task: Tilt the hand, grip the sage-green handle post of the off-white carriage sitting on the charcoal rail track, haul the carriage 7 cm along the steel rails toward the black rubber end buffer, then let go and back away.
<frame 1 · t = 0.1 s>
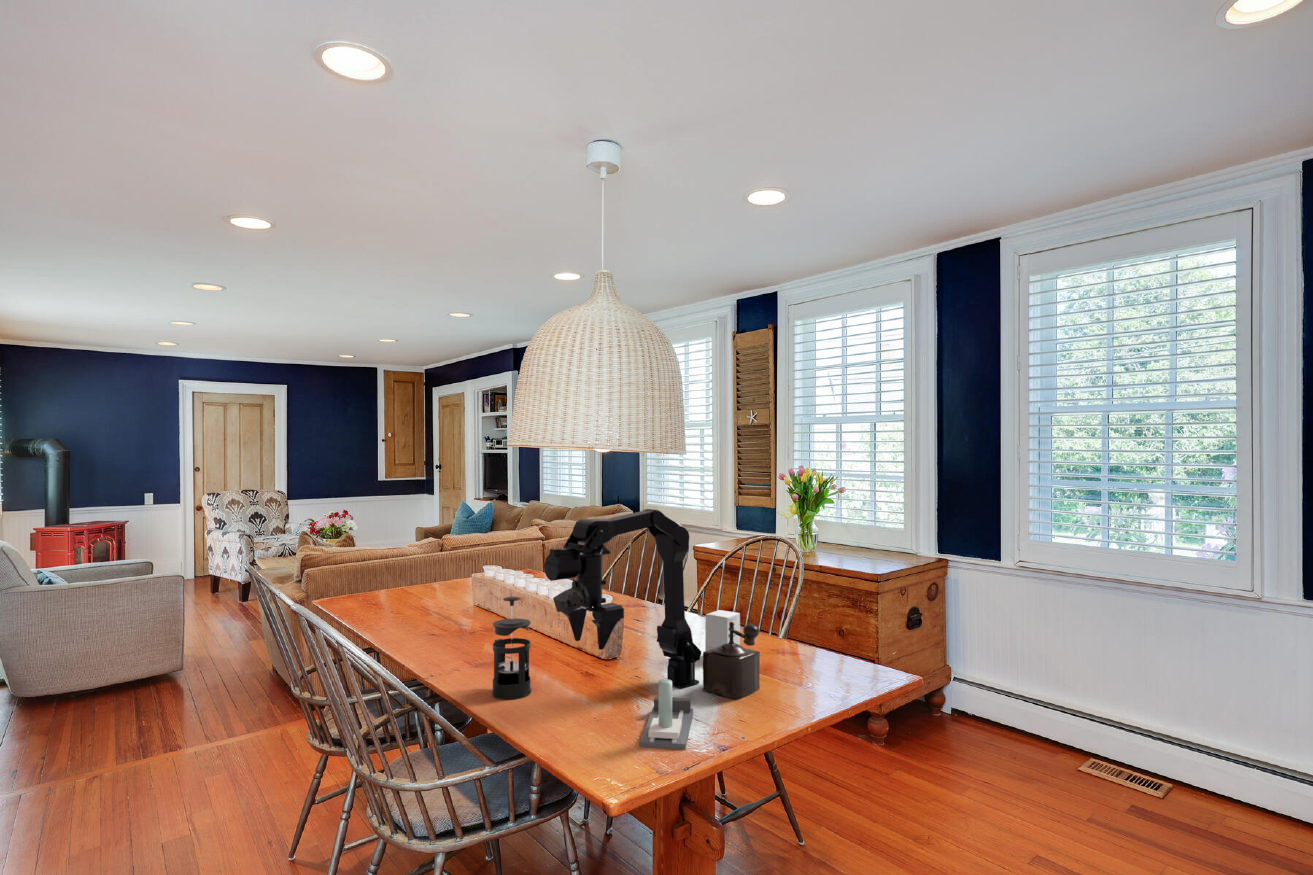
hand: (589, 644, 157), 15 cm above the table, tool pointing down, fingers open, 9 cm apart
carriage: (665, 706, 141), point 6 cm above the table, slide at 0.0 cm
supplement box: (722, 658, 196), on the table
french press: (510, 693, 168), on the table
rail track: (668, 728, 146), on the table
manual coffee grinder: (739, 693, 168), on the table
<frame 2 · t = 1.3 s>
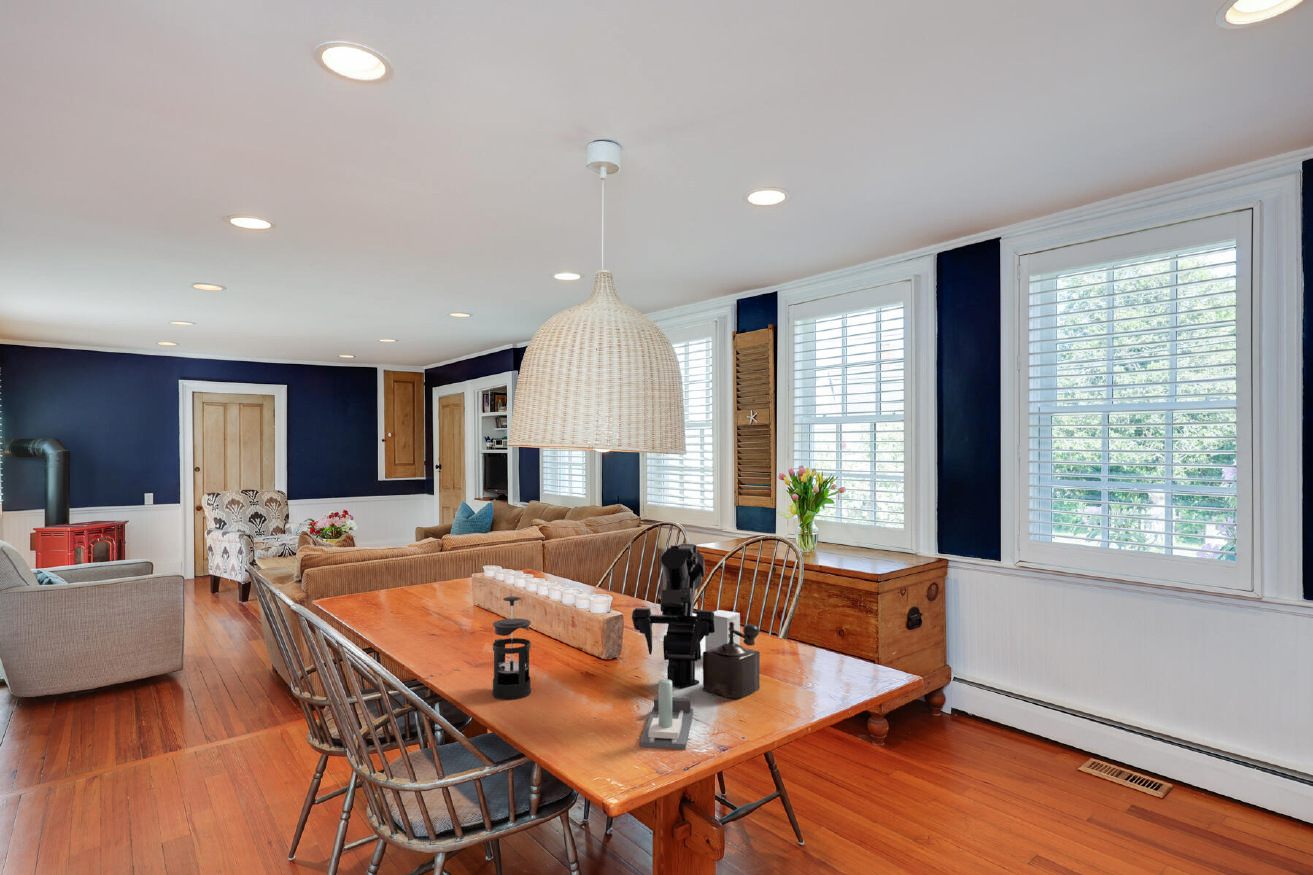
hand: (670, 654, 154), 13 cm above the table, tool tilted 45°, fingers open, 9 cm apart
nothing on the table moved.
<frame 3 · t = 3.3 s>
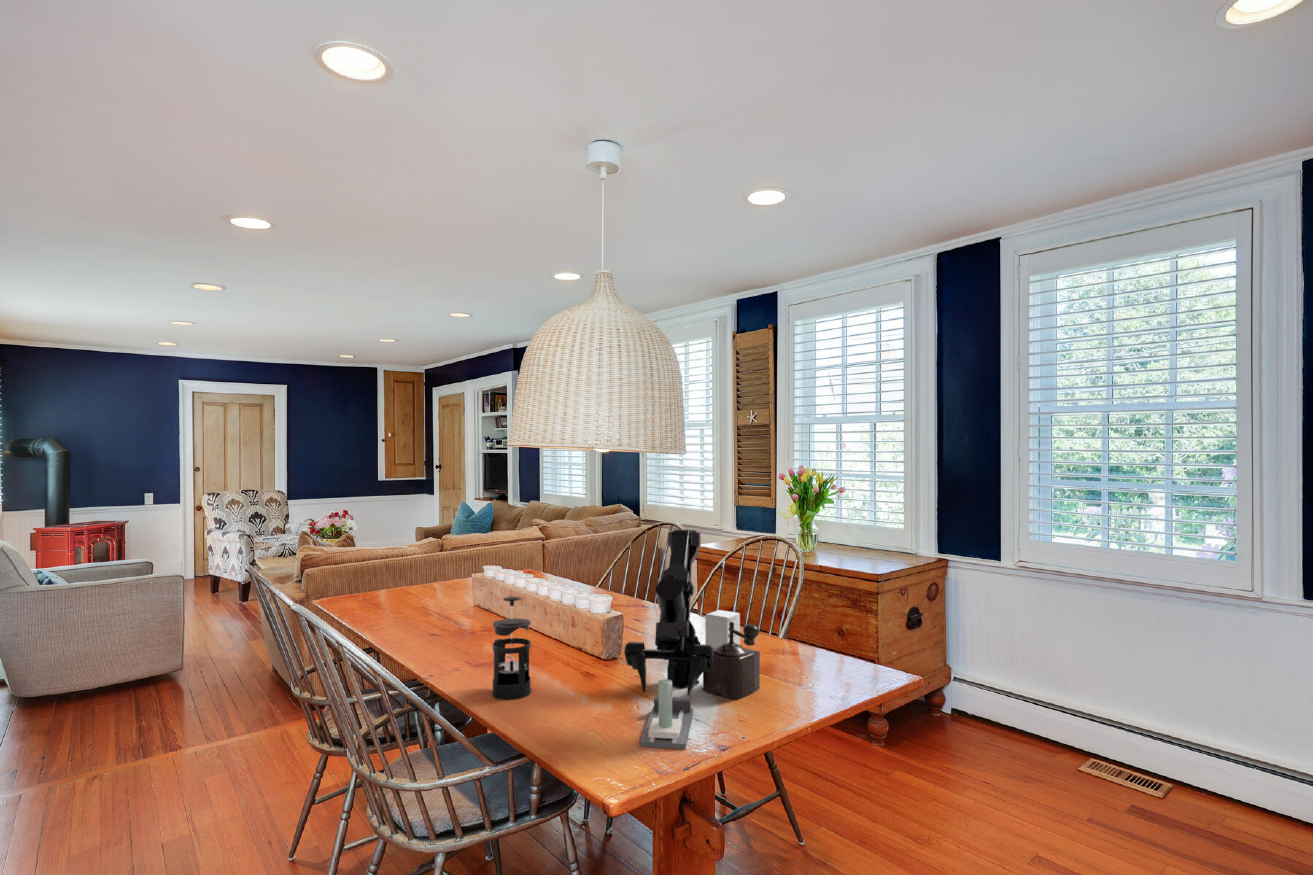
hand: (666, 693, 142), 9 cm above the table, tool tilted 45°, fingers open, 9 cm apart
nothing on the table moved.
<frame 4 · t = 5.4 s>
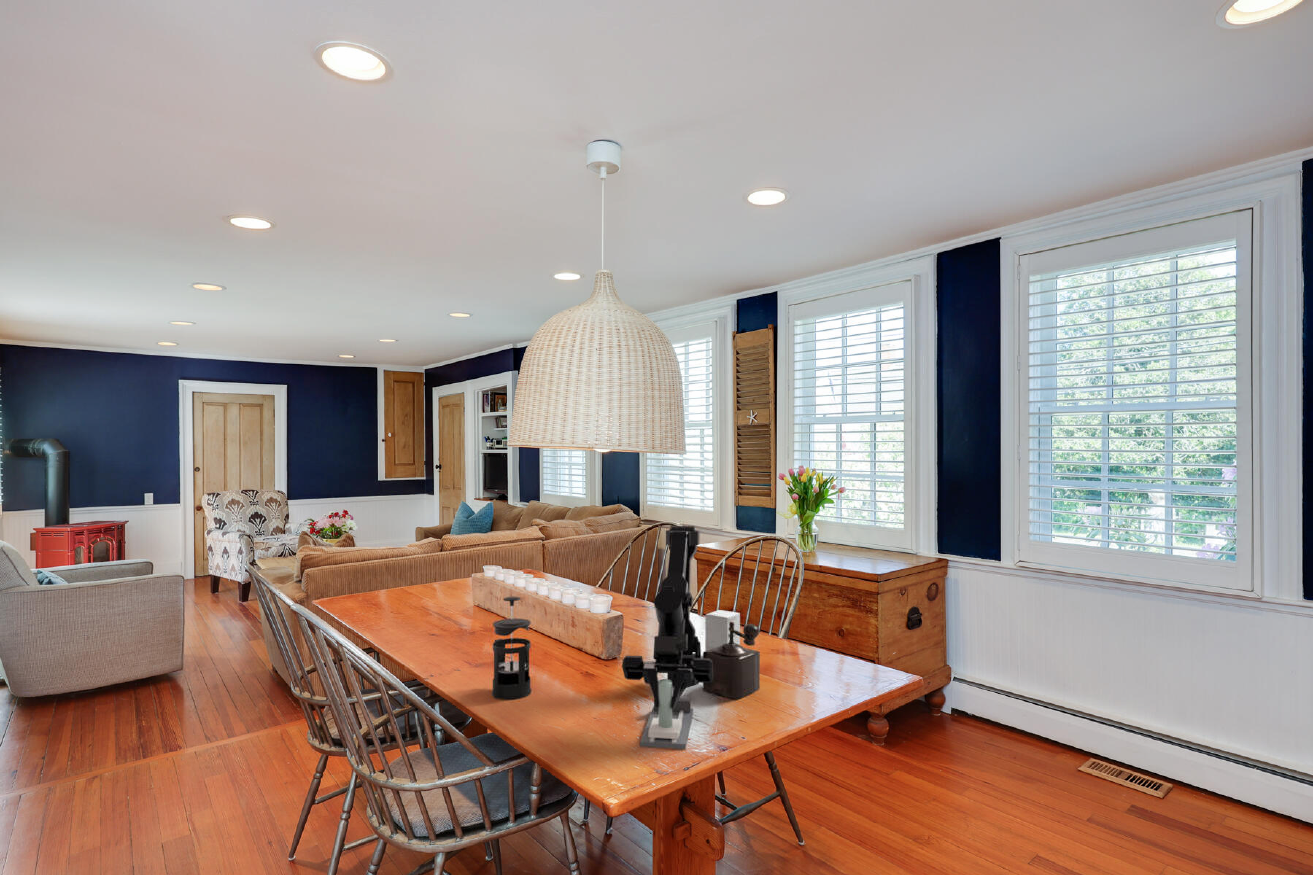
hand: (664, 708, 140), 7 cm above the table, tool tilted 45°, fingers closed on carriage, 3 cm apart
carriage: (665, 706, 141), point 6 cm above the table, slide at 0.0 cm, touching gripper
everything else where it was.
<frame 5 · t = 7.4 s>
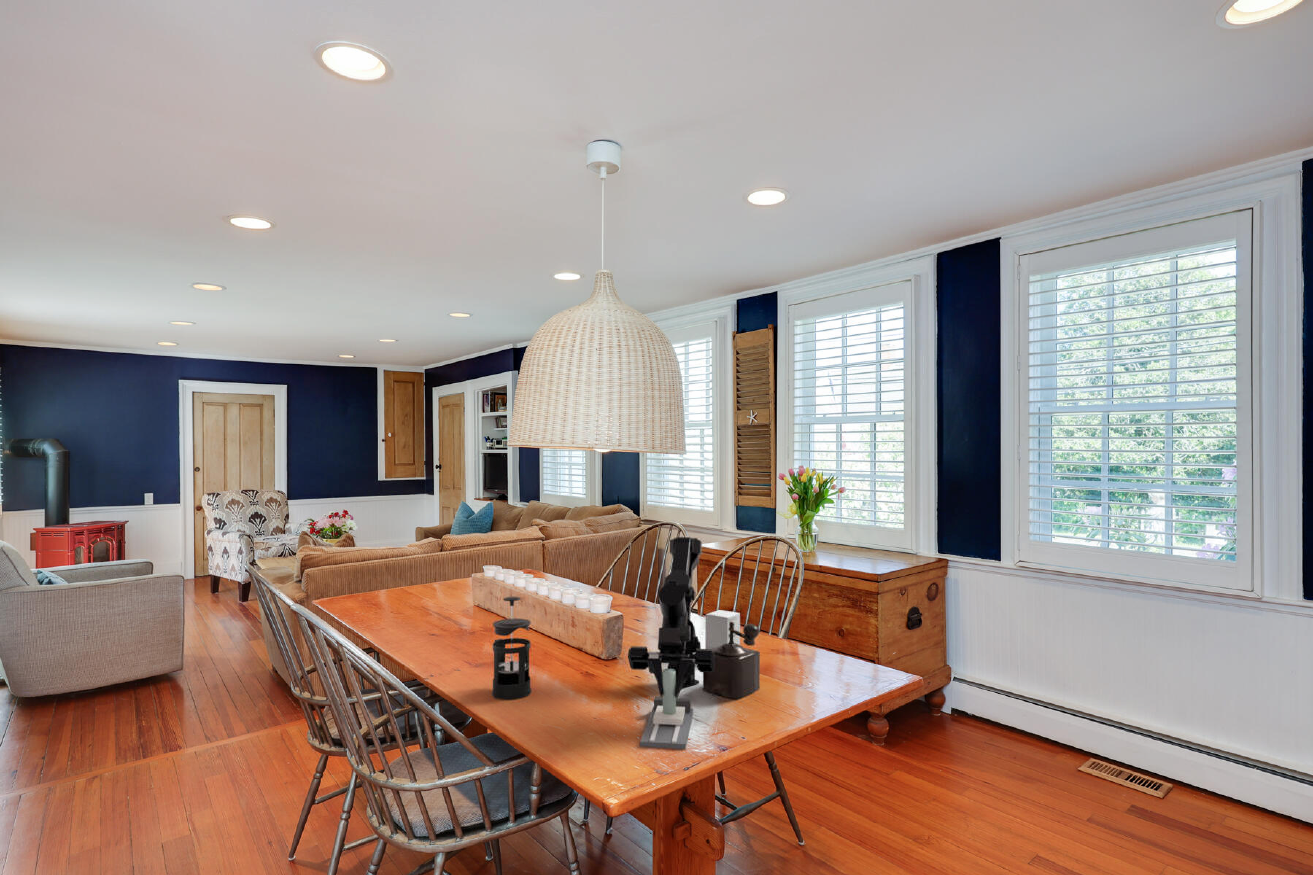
hand: (668, 696, 147), 7 cm above the table, tool tilted 45°, fingers closed on carriage, 3 cm apart
carriage: (669, 694, 148), point 6 cm above the table, slide at 7.0 cm, touching gripper
everything else where it was.
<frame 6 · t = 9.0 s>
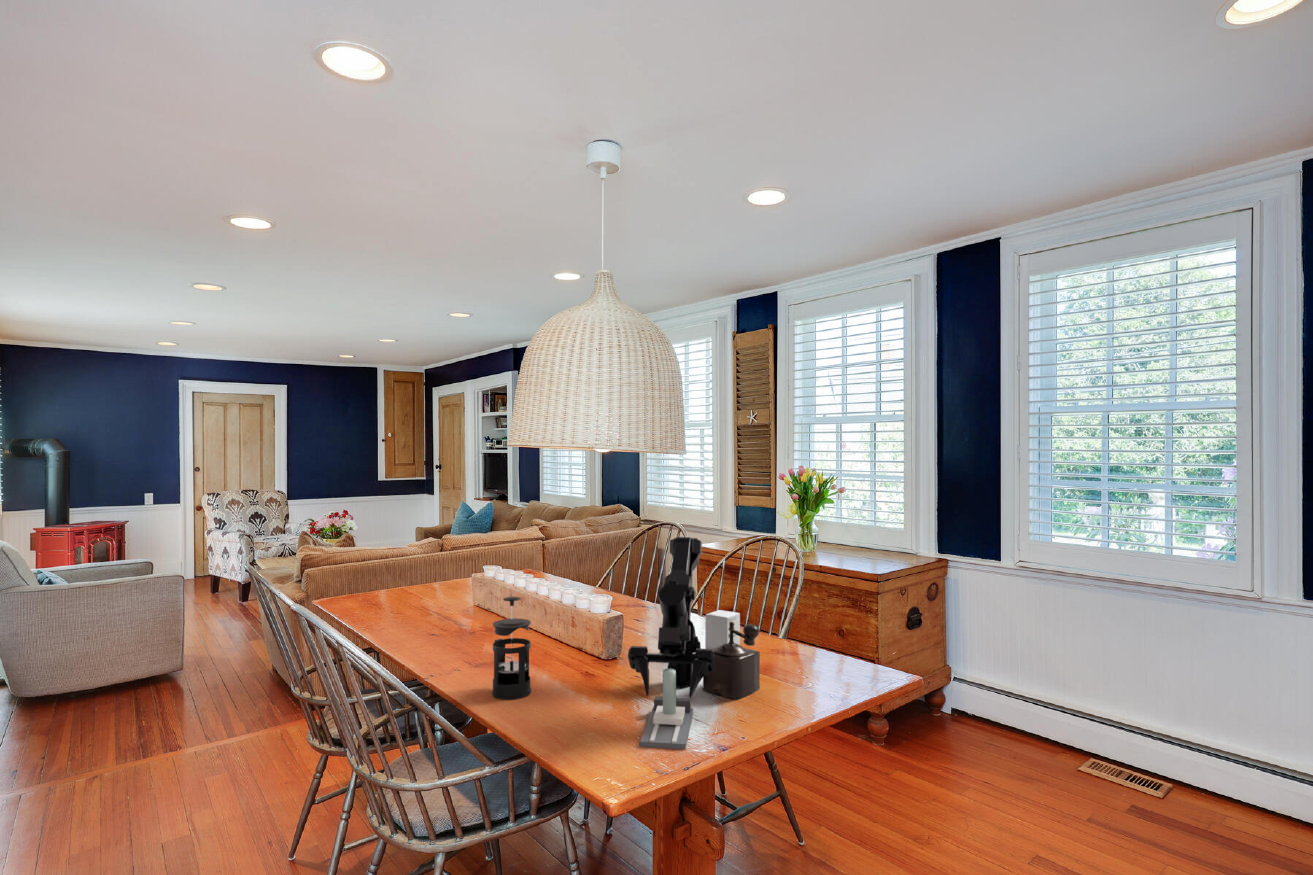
hand: (668, 695, 147), 7 cm above the table, tool tilted 45°, fingers open, 9 cm apart
carriage: (669, 694, 148), point 6 cm above the table, slide at 7.0 cm
everything else where it was.
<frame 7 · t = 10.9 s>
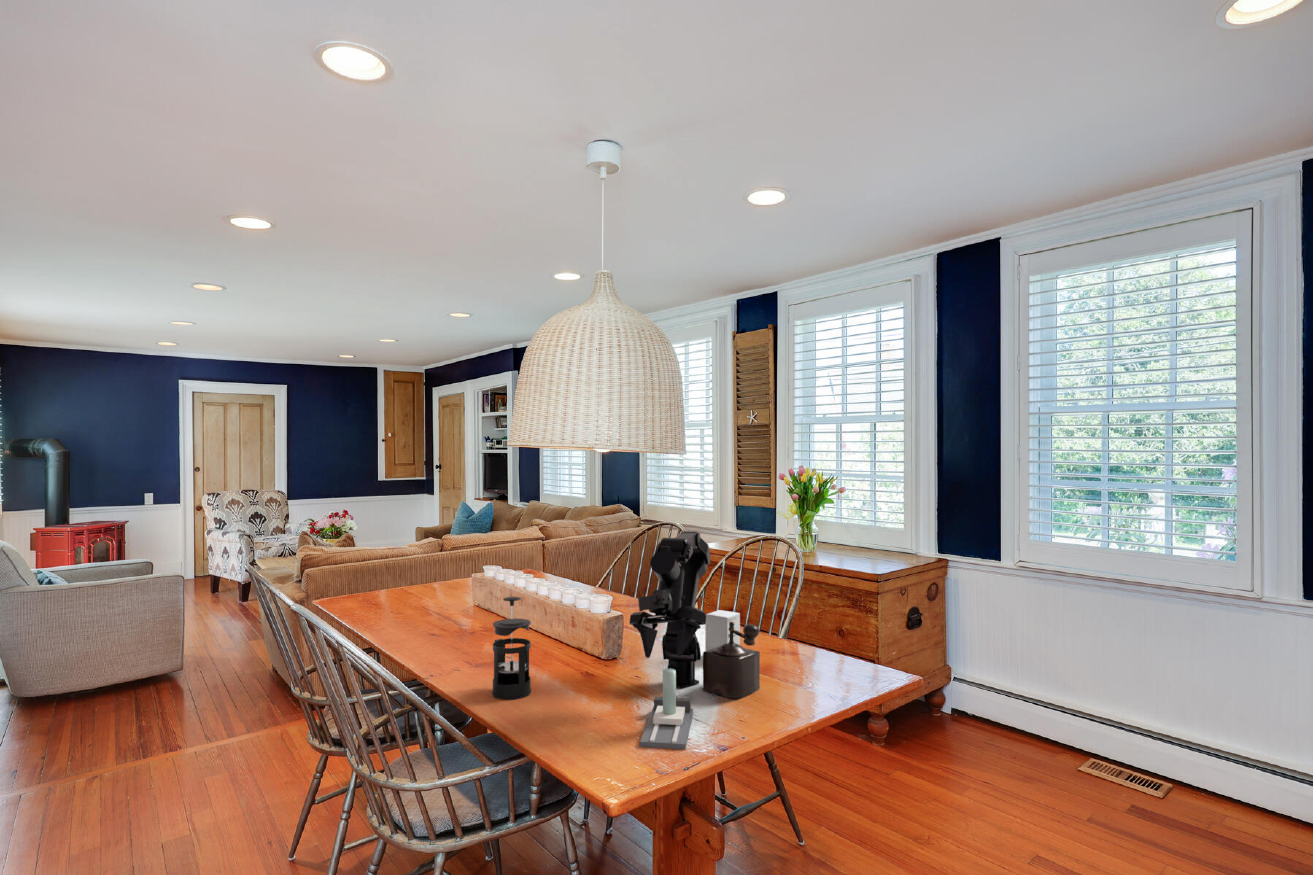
hand: (662, 656, 156), 12 cm above the table, tool tilted 30°, fingers open, 9 cm apart
nothing on the table moved.
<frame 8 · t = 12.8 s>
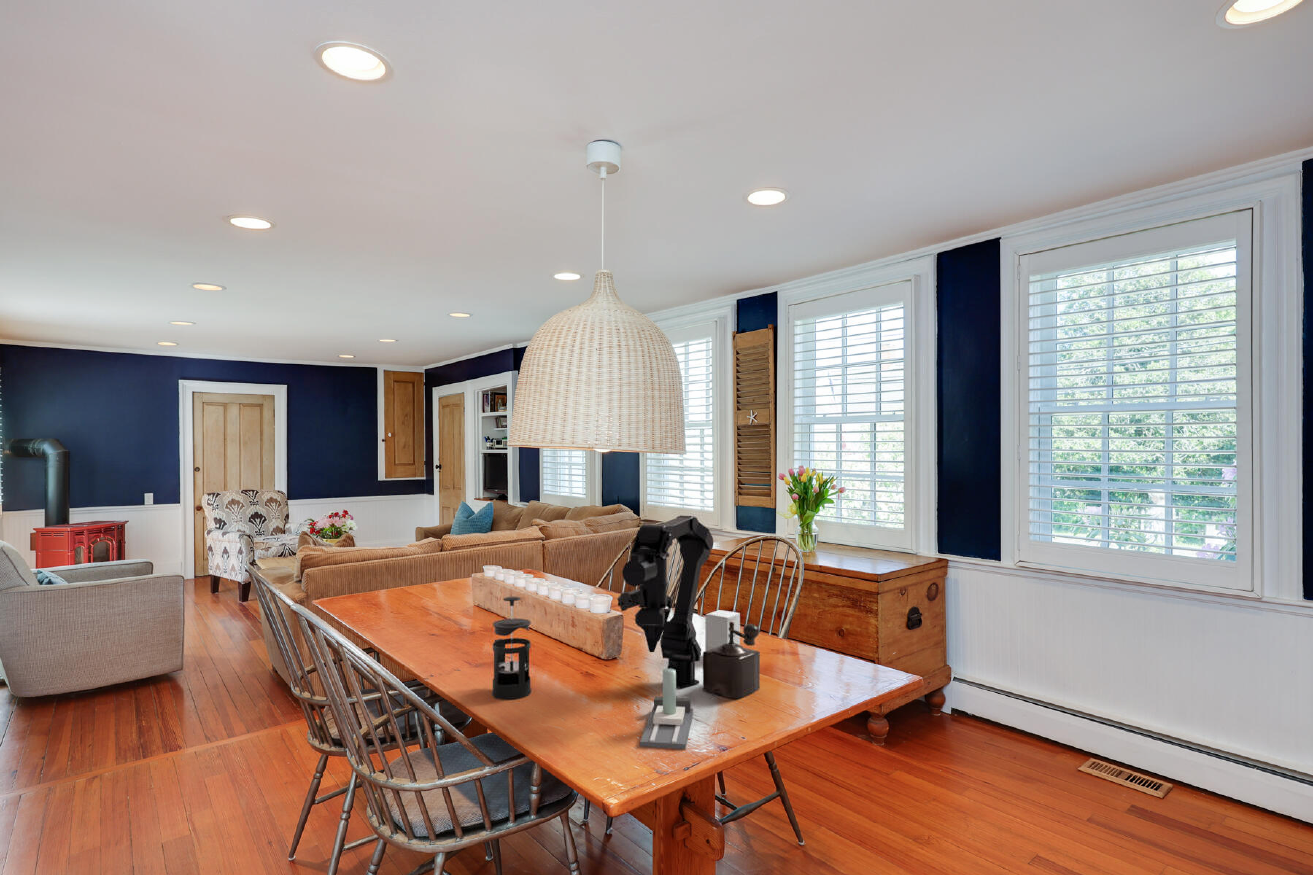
hand: (654, 646, 161), 13 cm above the table, tool pointing down, fingers open, 9 cm apart
nothing on the table moved.
at the end: carriage slide at 7.0 cm; the gripper is holding nothing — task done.
